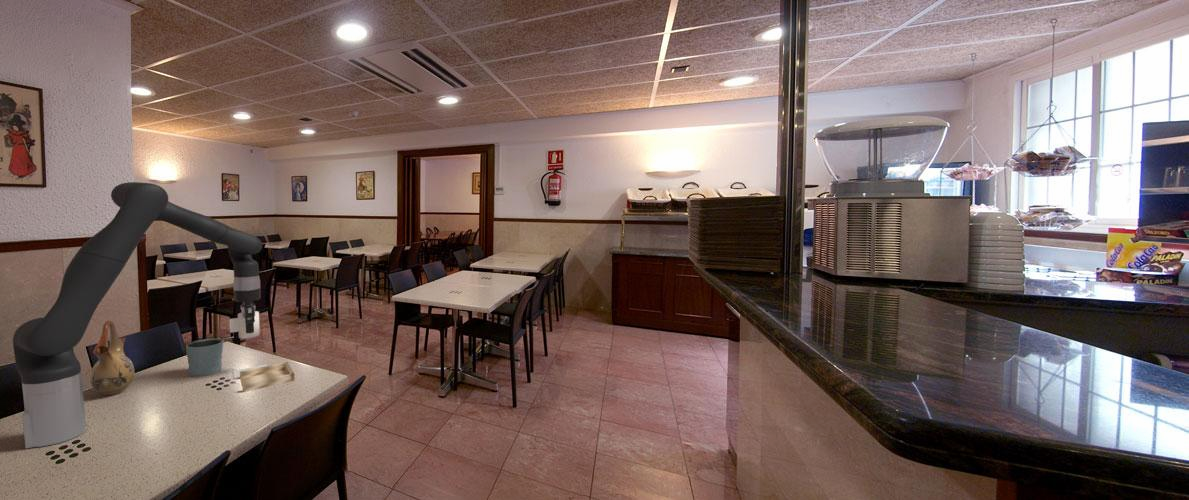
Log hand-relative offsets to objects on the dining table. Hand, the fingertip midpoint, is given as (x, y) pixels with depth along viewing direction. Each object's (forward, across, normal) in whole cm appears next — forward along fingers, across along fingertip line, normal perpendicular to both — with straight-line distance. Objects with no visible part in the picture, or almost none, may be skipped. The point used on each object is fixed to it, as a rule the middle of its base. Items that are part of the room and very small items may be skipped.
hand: (249, 330), depth 146 cm
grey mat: (+17, 0, 0) cm, 17 cm away
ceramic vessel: (+17, -9, -34) cm, 39 cm away
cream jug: (+2, 0, -1) cm, 2 cm away
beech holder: (+17, +12, +4) cm, 21 cm away
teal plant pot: (+17, -11, -12) cm, 24 cm away
